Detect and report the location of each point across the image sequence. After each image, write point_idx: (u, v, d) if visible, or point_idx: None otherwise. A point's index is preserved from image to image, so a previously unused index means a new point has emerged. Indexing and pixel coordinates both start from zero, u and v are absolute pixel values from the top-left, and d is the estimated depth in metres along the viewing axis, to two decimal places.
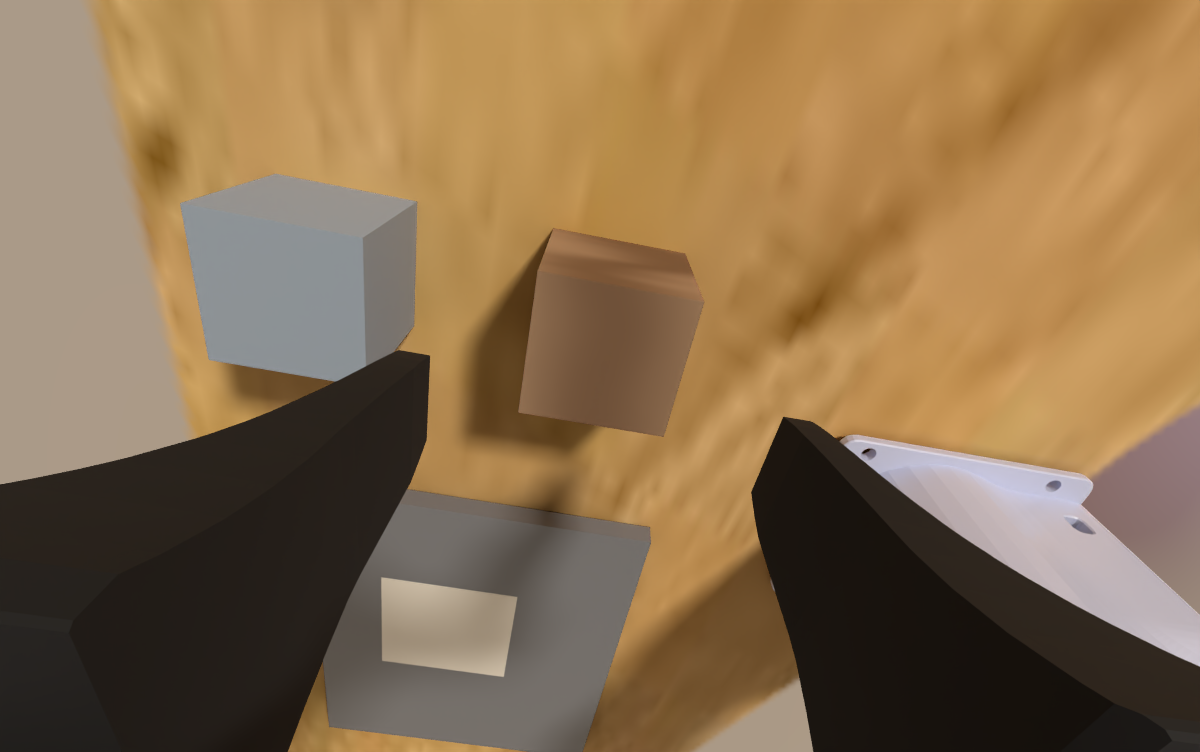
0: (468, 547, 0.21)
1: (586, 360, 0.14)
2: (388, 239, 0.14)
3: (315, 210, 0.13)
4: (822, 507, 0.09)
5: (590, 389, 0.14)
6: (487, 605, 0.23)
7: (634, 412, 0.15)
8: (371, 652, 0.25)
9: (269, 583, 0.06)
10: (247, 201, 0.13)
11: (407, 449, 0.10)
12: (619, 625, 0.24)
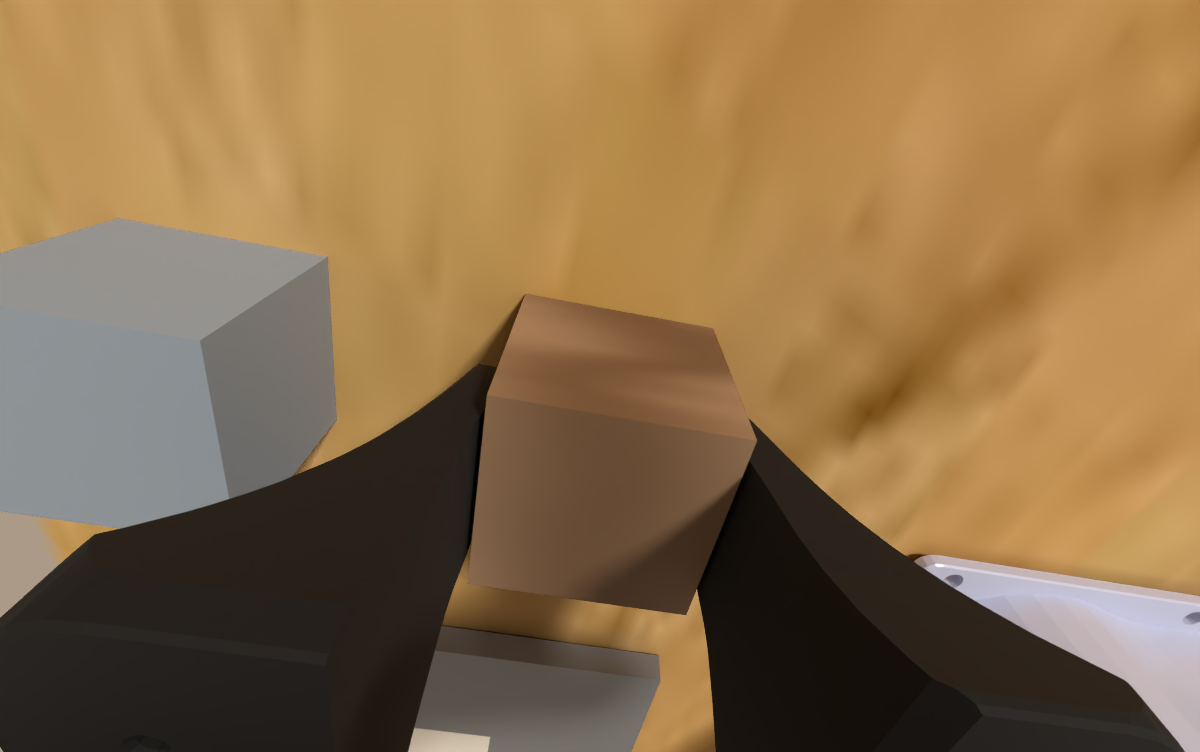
0: None
1: (569, 518, 0.09)
2: (267, 324, 0.09)
3: (144, 284, 0.09)
4: None
5: (575, 556, 0.09)
6: (452, 745, 0.18)
7: (642, 584, 0.10)
8: None
9: (413, 603, 0.06)
10: (27, 275, 0.08)
11: None
12: None
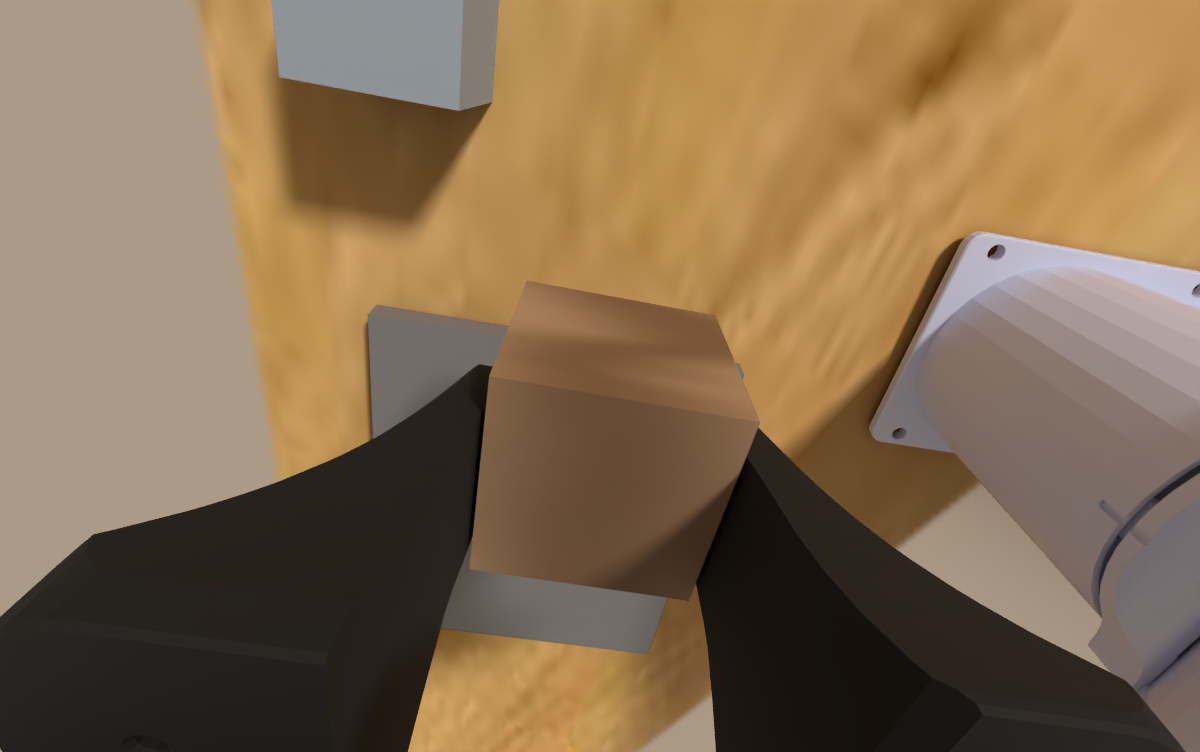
0: None
1: (572, 501, 0.09)
2: None
3: None
4: (733, 493, 0.09)
5: (578, 541, 0.09)
6: None
7: (645, 569, 0.10)
8: None
9: (413, 603, 0.06)
10: None
11: None
12: None
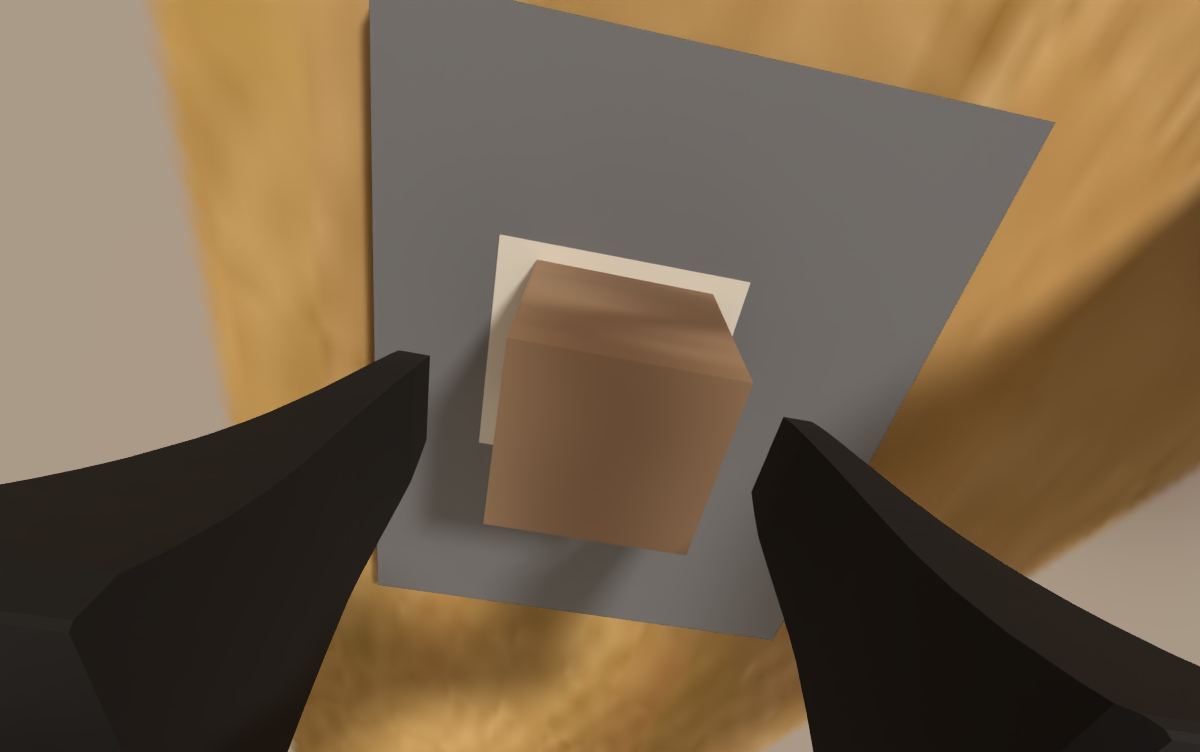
0: (682, 144, 0.11)
1: (580, 458, 0.10)
2: None
3: None
4: (822, 507, 0.09)
5: (584, 496, 0.10)
6: None
7: (646, 525, 0.10)
8: (462, 424, 0.14)
9: (269, 583, 0.06)
10: None
11: (407, 449, 0.10)
12: (922, 352, 0.13)
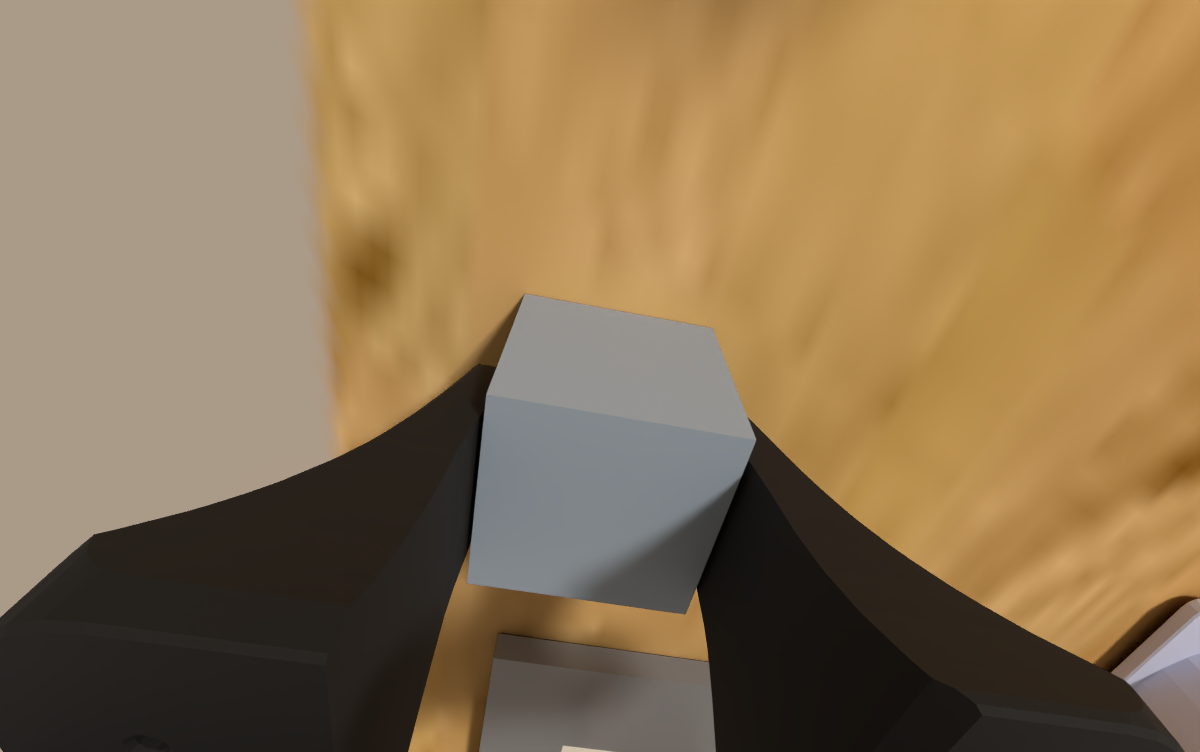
0: (681, 717, 0.17)
1: None
2: None
3: (640, 375, 0.09)
4: None
5: None
6: None
7: None
8: None
9: (413, 603, 0.06)
10: (554, 370, 0.09)
11: None
12: None
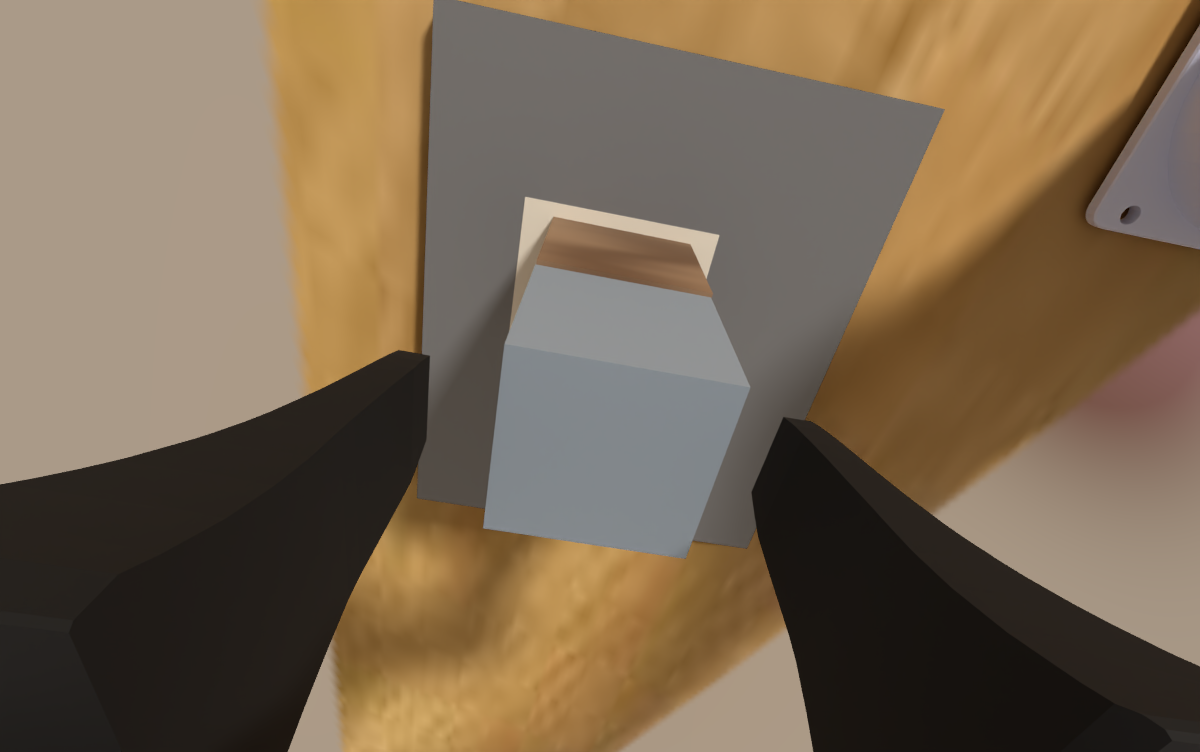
0: (665, 126, 0.14)
1: None
2: None
3: (644, 333, 0.10)
4: (822, 507, 0.09)
5: None
6: None
7: None
8: (491, 354, 0.18)
9: (269, 583, 0.06)
10: (565, 327, 0.09)
11: (407, 449, 0.10)
12: (856, 292, 0.16)
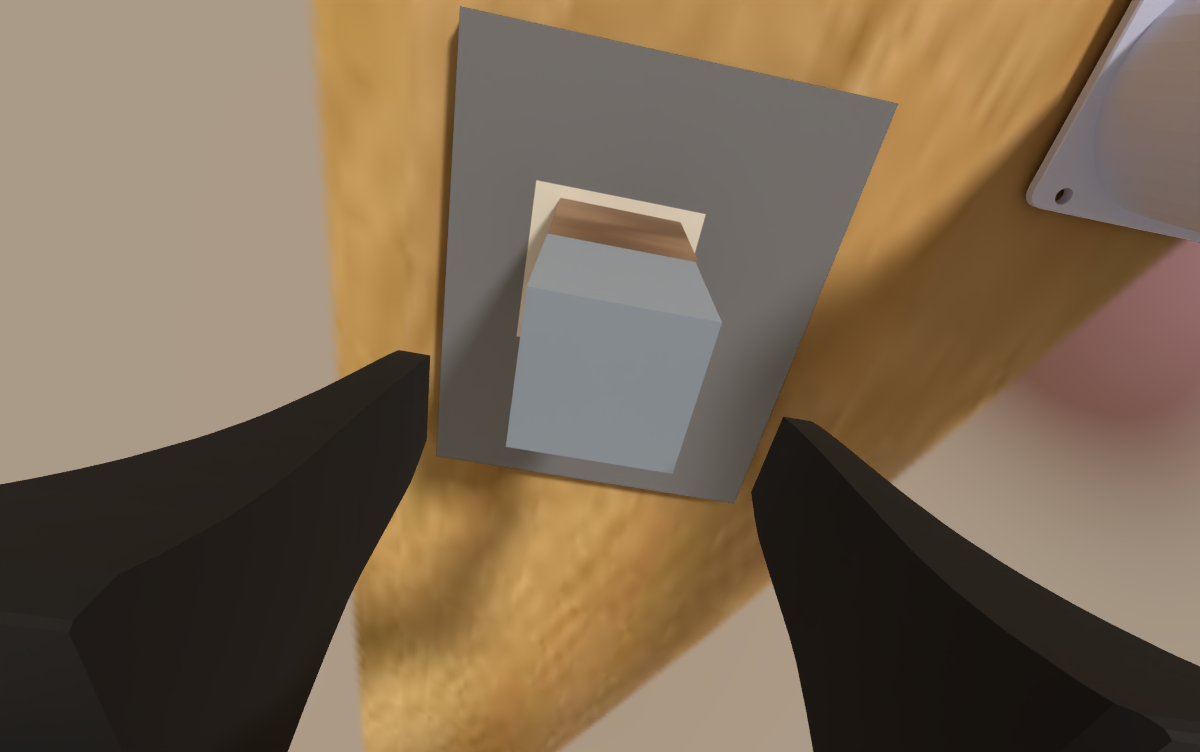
0: (657, 118, 0.17)
1: None
2: None
3: (637, 284, 0.12)
4: (822, 507, 0.09)
5: None
6: None
7: None
8: (505, 322, 0.20)
9: (269, 583, 0.06)
10: (574, 277, 0.12)
11: (407, 449, 0.10)
12: (826, 265, 0.19)
